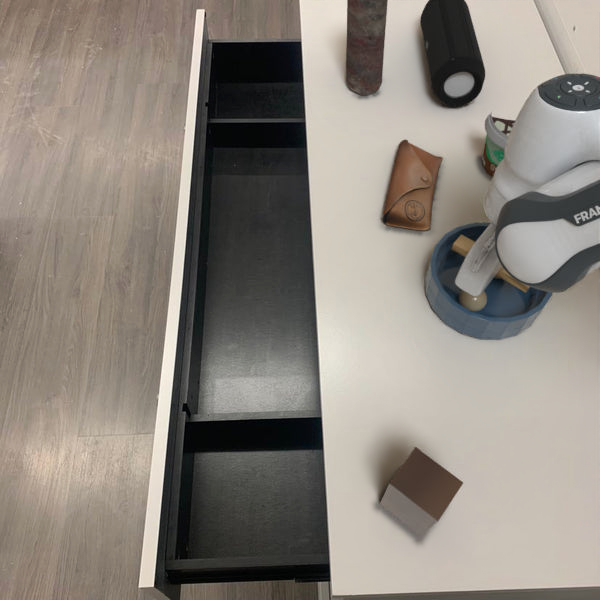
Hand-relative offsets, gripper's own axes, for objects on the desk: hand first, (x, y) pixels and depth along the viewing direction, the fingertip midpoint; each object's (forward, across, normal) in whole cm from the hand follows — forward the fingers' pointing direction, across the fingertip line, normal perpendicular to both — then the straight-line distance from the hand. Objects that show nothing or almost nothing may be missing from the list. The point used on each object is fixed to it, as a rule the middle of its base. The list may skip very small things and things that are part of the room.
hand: (492, 264), depth 76 cm
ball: (+6, -4, 0) cm, 7 cm away
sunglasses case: (+7, +11, +20) cm, 24 cm away
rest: (+7, -33, -9) cm, 35 cm away
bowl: (+7, 0, 0) cm, 7 cm away
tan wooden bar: (0, 0, 0) cm, 0 cm away
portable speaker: (+8, +43, +33) cm, 55 cm away
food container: (+7, +24, +9) cm, 27 cm away
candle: (+8, +29, +44) cm, 53 cm away
